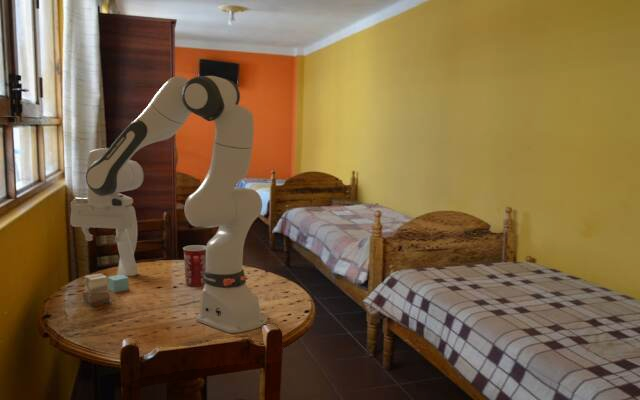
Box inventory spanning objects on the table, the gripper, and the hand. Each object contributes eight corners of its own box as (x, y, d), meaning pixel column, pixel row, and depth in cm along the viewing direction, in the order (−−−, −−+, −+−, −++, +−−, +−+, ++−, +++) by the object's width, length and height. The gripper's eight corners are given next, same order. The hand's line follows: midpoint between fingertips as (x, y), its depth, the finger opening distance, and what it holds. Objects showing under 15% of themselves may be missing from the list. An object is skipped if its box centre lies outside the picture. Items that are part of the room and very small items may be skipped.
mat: (119, 304, 159) (119, 302, 159) (87, 311, 152) (87, 309, 152) (104, 294, 168) (104, 292, 167) (73, 301, 161) (73, 299, 160)
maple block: (107, 292, 159) (107, 277, 159) (91, 295, 156) (90, 279, 155) (101, 288, 163) (100, 273, 162) (85, 291, 159) (84, 276, 159)
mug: (183, 280, 186) (183, 244, 184) (208, 279, 189) (208, 244, 187) (182, 291, 174) (182, 253, 172) (208, 290, 176) (209, 253, 174)
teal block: (128, 291, 172) (128, 277, 171) (114, 294, 168) (113, 280, 168) (122, 288, 175) (122, 274, 175) (108, 291, 172) (107, 276, 171)
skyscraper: (127, 279, 185) (126, 204, 181) (111, 276, 188) (110, 202, 184) (142, 273, 192) (141, 201, 188) (126, 271, 195) (125, 200, 191)
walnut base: (109, 301, 160) (109, 292, 159) (90, 305, 156) (89, 296, 155) (102, 296, 164) (101, 287, 163) (83, 300, 160) (82, 291, 159)
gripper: (65, 198, 157) (66, 241, 159) (130, 201, 157) (130, 244, 159) (75, 196, 163) (76, 237, 165) (137, 198, 163) (138, 240, 165)
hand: (103, 241), depth 162 cm, fingers open, 8 cm apart
